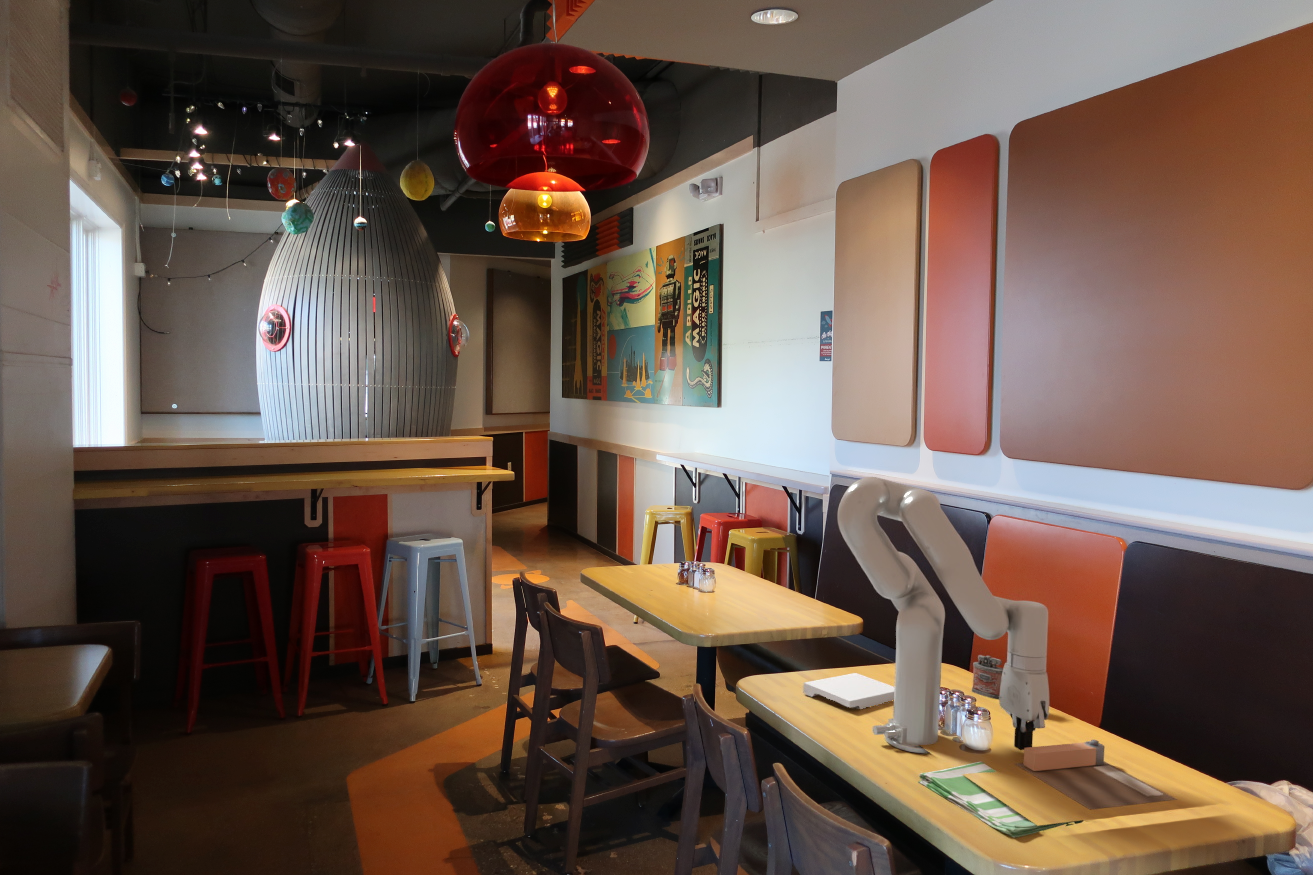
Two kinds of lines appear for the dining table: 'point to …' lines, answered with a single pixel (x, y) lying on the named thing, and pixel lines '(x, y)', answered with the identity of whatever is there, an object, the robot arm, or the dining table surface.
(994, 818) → the dish towel
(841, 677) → the white flat block
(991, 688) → the lighter
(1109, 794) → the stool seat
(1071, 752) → the folding leg
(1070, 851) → the dining table surface
